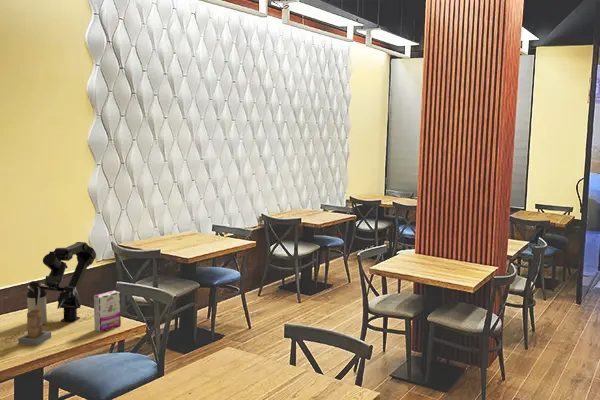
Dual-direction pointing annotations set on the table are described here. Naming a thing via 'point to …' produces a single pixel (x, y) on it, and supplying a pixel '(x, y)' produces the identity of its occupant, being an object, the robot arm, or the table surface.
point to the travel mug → (40, 305)
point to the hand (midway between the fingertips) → (46, 307)
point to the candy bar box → (107, 311)
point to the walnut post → (34, 323)
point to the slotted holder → (34, 342)
